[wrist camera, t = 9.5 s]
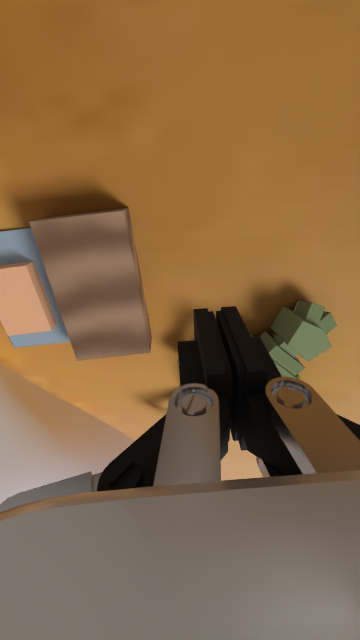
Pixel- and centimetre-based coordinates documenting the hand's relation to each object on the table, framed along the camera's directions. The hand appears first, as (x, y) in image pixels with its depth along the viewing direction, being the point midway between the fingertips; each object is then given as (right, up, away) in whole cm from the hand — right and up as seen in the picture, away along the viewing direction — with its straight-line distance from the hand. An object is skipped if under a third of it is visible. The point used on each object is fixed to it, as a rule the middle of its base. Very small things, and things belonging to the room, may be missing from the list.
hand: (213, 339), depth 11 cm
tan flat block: (-22, +3, +23) cm, 32 cm away
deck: (-11, +6, +25) cm, 28 cm away
